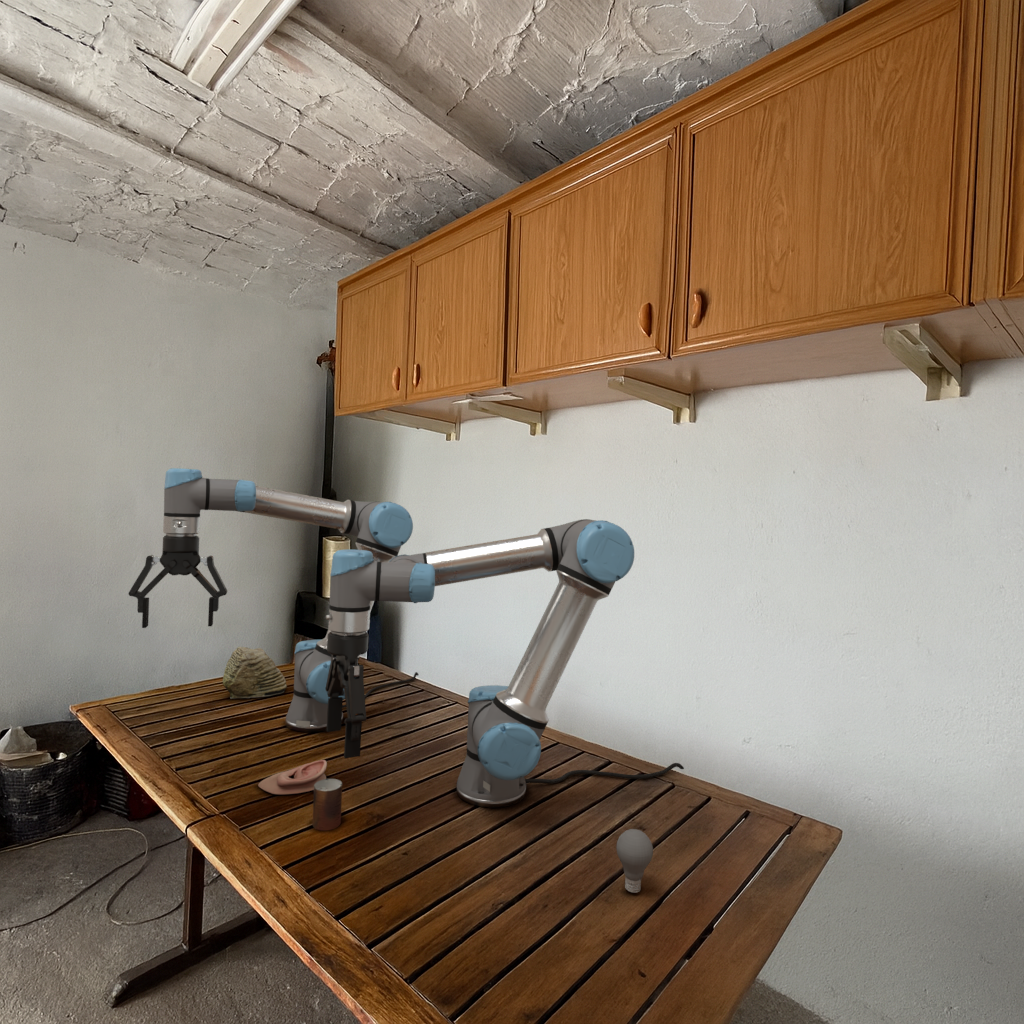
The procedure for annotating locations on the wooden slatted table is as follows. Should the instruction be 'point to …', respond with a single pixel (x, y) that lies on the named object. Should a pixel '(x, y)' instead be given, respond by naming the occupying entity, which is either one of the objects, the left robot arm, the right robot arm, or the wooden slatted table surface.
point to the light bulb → (634, 857)
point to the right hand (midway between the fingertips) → (342, 743)
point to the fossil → (252, 674)
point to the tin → (327, 804)
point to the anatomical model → (295, 779)
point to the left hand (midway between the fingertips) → (178, 626)
